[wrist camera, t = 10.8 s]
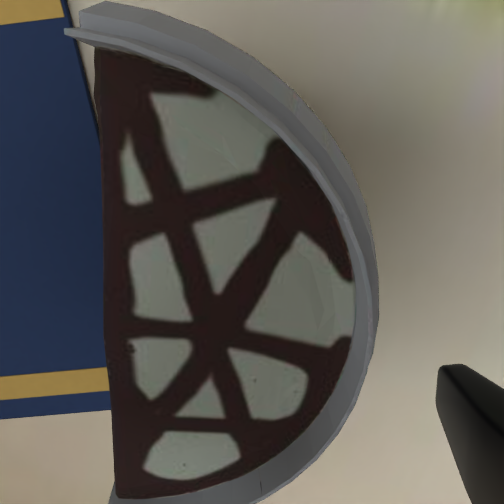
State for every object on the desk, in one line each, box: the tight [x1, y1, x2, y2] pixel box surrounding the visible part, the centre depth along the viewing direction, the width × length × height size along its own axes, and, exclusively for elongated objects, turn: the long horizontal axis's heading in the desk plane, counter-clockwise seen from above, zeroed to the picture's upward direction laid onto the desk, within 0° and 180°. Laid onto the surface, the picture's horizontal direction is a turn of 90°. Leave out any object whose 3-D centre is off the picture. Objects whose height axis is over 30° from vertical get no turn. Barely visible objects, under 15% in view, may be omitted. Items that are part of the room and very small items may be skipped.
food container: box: [64, 1, 379, 504], centre depth 13 cm, size 12×6×10 cm, turn 174°
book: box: [0, 0, 111, 419], centre depth 18 cm, size 10×20×1 cm, turn 6°
